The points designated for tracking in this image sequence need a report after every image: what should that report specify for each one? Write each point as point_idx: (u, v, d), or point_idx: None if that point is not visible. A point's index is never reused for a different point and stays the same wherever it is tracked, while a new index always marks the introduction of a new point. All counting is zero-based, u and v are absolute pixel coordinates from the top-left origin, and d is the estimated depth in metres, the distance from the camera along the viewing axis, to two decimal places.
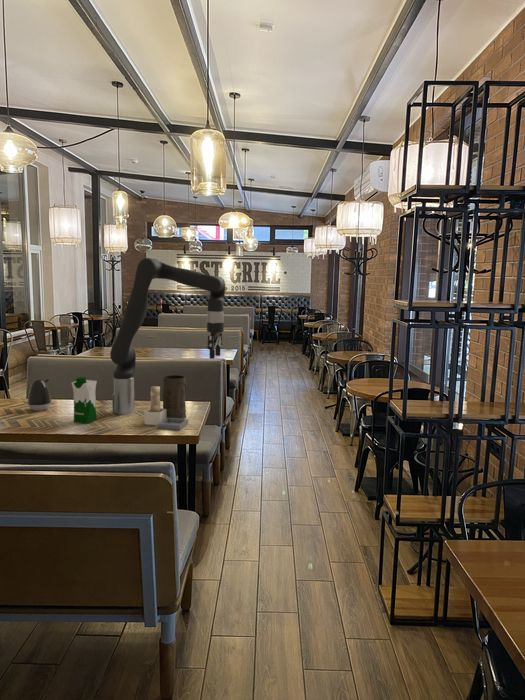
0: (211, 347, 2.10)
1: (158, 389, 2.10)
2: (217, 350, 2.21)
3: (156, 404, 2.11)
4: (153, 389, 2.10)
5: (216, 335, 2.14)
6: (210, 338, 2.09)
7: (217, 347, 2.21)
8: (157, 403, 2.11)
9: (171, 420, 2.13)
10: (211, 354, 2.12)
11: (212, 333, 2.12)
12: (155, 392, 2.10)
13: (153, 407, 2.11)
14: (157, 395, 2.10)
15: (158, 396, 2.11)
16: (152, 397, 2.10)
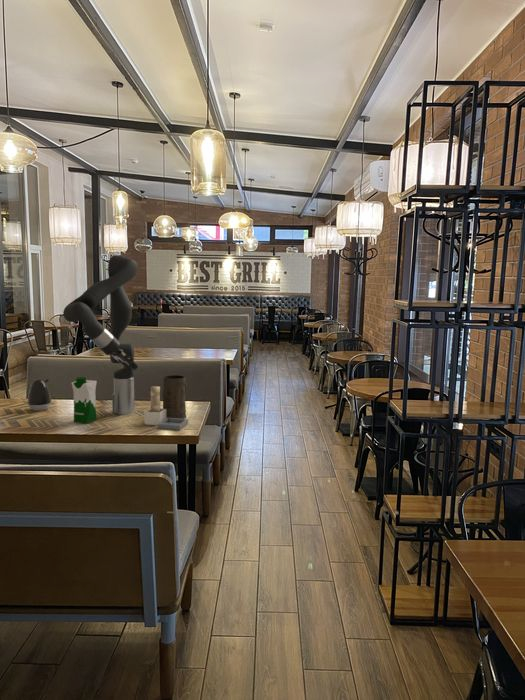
0: (115, 357, 2.06)
1: (158, 389, 2.10)
2: None
3: (156, 404, 2.11)
4: (153, 389, 2.10)
5: (112, 352, 1.99)
6: None
7: None
8: (157, 403, 2.11)
9: (171, 420, 2.13)
10: (123, 362, 2.07)
11: None
12: (155, 392, 2.10)
13: (153, 407, 2.11)
14: (157, 395, 2.10)
15: (158, 396, 2.11)
16: (152, 397, 2.10)
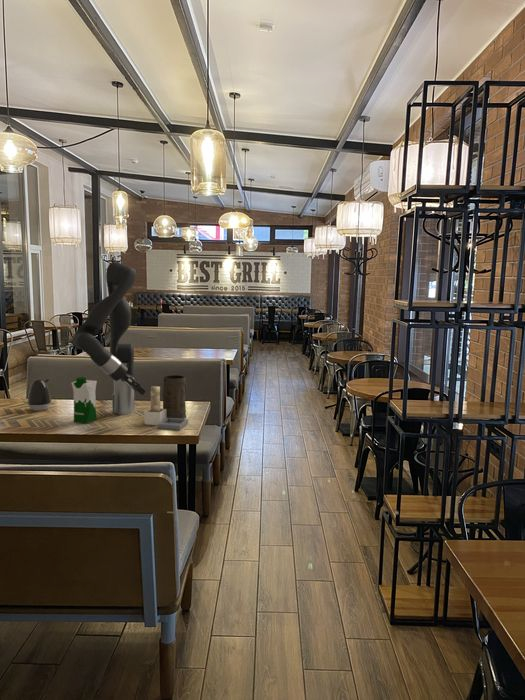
0: None
1: (158, 389, 2.10)
2: None
3: (156, 404, 2.11)
4: (153, 389, 2.10)
5: (121, 378, 2.04)
6: None
7: None
8: (157, 403, 2.11)
9: (171, 420, 2.13)
10: None
11: None
12: (155, 392, 2.10)
13: (153, 407, 2.11)
14: (157, 395, 2.10)
15: (158, 396, 2.11)
16: (152, 397, 2.10)
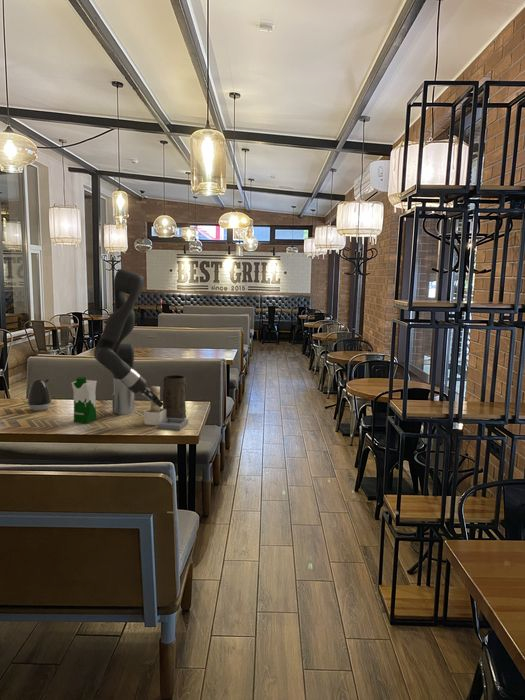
0: None
1: (158, 389, 2.10)
2: None
3: (156, 404, 2.11)
4: (153, 389, 2.10)
5: None
6: None
7: None
8: None
9: (171, 420, 2.13)
10: None
11: None
12: (155, 392, 2.10)
13: (153, 407, 2.11)
14: (157, 395, 2.10)
15: (158, 396, 2.11)
16: None
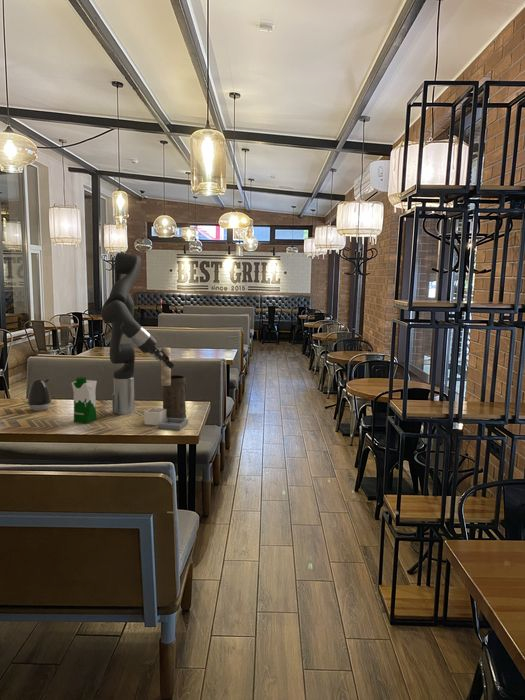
0: None
1: (169, 350, 2.04)
2: None
3: None
4: (164, 350, 2.04)
5: (149, 350, 2.03)
6: None
7: None
8: None
9: (171, 420, 2.13)
10: None
11: None
12: (165, 353, 2.04)
13: (163, 369, 2.05)
14: (168, 356, 2.04)
15: (169, 357, 2.05)
16: None
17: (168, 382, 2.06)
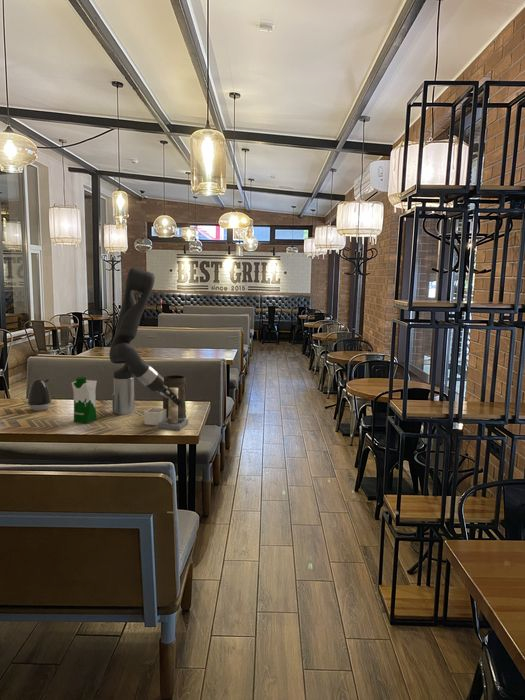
0: None
1: (176, 390, 2.06)
2: None
3: (174, 405, 2.06)
4: (171, 390, 2.05)
5: None
6: None
7: None
8: (175, 405, 2.06)
9: None
10: None
11: None
12: None
13: (170, 409, 2.06)
14: None
15: None
16: None
17: (175, 422, 2.07)
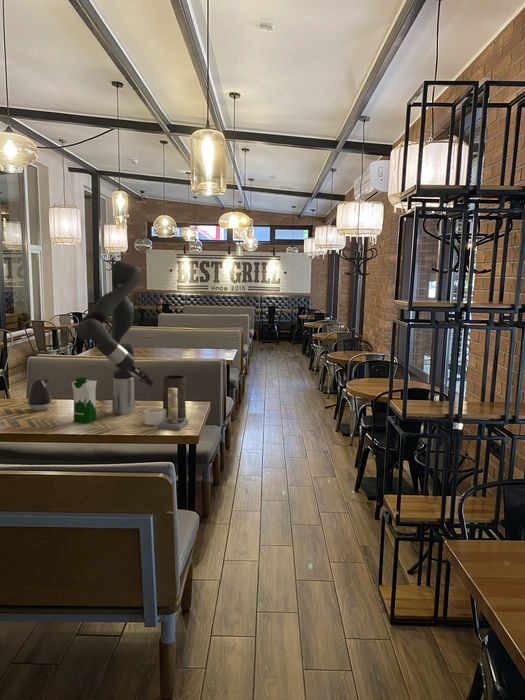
0: None
1: (176, 391, 2.06)
2: None
3: (174, 406, 2.06)
4: (171, 391, 2.05)
5: (127, 368, 1.96)
6: None
7: None
8: (175, 405, 2.06)
9: None
10: (140, 377, 2.03)
11: None
12: (172, 394, 2.05)
13: (170, 410, 2.06)
14: (175, 397, 2.06)
15: (176, 398, 2.06)
16: (170, 399, 2.05)
17: (175, 422, 2.07)
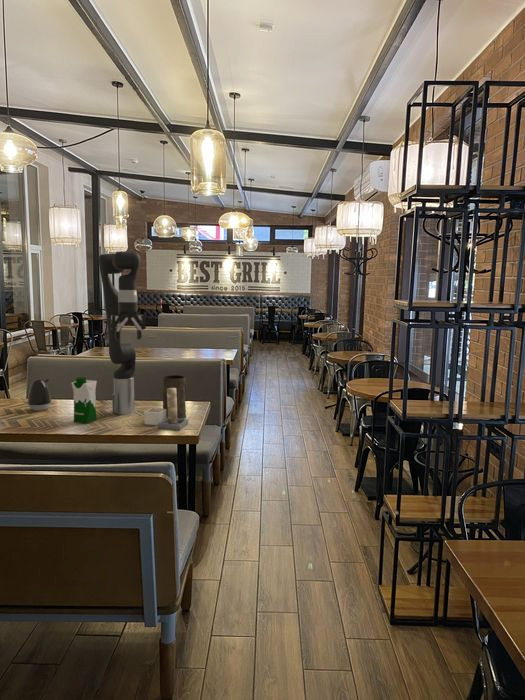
0: (111, 327, 1.96)
1: (175, 391, 2.05)
2: (137, 333, 2.03)
3: (173, 406, 2.06)
4: (170, 391, 2.04)
5: (125, 316, 1.98)
6: (111, 318, 1.96)
7: (137, 330, 2.02)
8: (174, 405, 2.06)
9: None
10: (115, 335, 1.98)
11: (118, 313, 1.97)
12: (171, 394, 2.05)
13: (170, 410, 2.06)
14: (174, 397, 2.05)
15: (175, 398, 2.06)
16: (169, 399, 2.05)
17: (175, 422, 2.07)
